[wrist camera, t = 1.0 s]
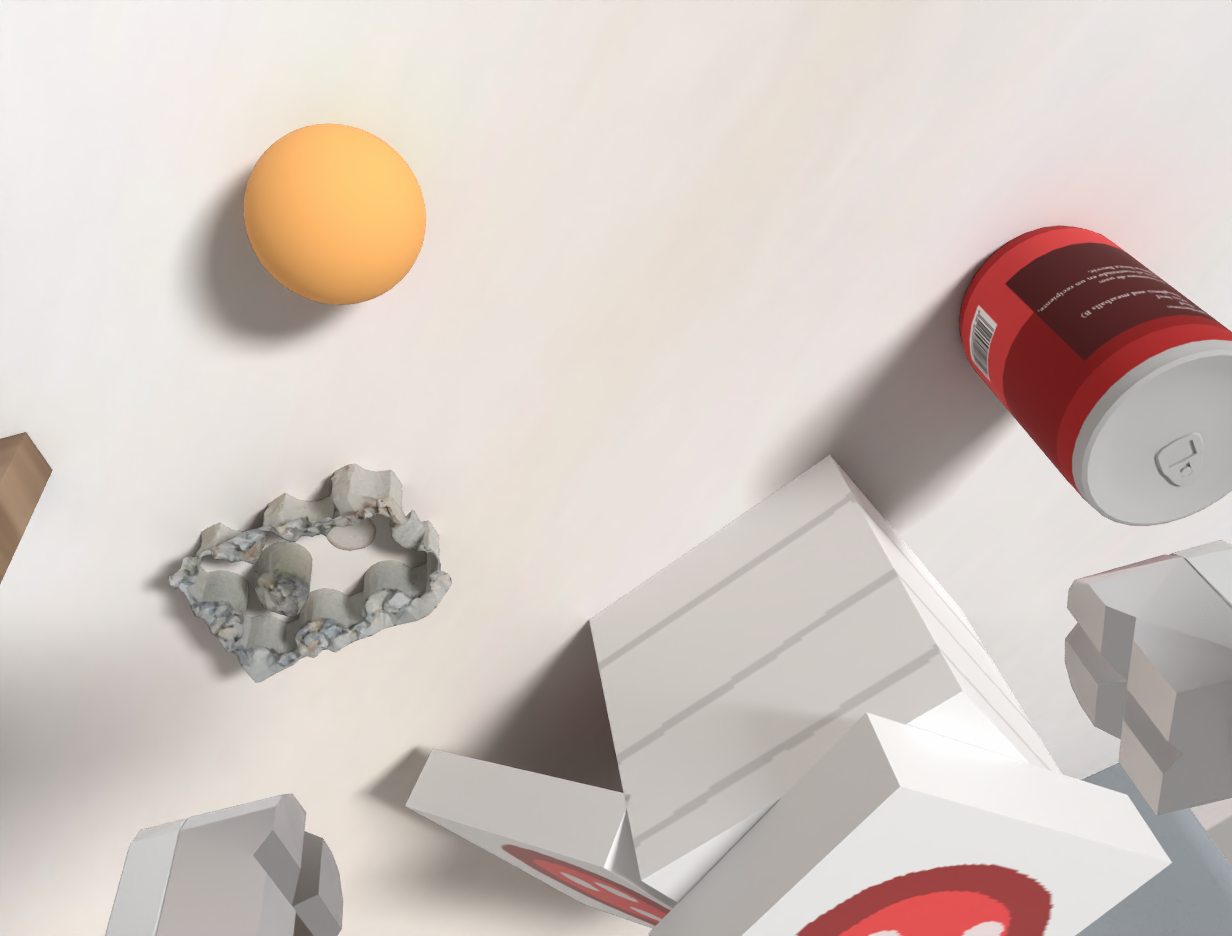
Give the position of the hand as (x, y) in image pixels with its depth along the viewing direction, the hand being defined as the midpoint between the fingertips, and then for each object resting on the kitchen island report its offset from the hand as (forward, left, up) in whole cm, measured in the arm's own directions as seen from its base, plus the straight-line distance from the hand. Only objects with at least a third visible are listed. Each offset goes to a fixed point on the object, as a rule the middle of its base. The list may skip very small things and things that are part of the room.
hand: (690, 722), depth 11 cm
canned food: (+17, +20, -31) cm, 41 cm away
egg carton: (+20, -14, -31) cm, 40 cm away
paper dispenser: (+35, +2, -31) cm, 47 cm away
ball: (+4, -7, -28) cm, 29 cm away
